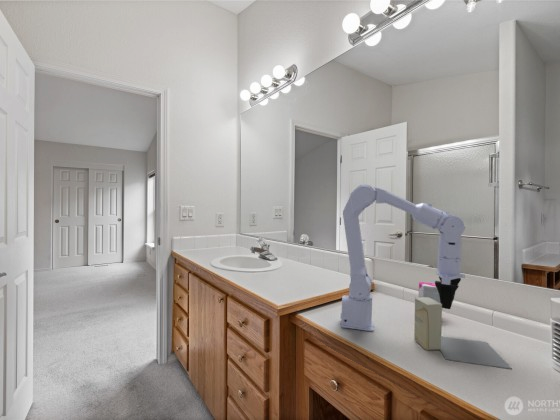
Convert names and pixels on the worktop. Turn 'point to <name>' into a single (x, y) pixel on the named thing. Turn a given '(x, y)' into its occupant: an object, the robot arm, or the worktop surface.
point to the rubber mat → (471, 352)
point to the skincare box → (428, 323)
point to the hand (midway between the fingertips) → (447, 304)
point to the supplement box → (429, 291)
